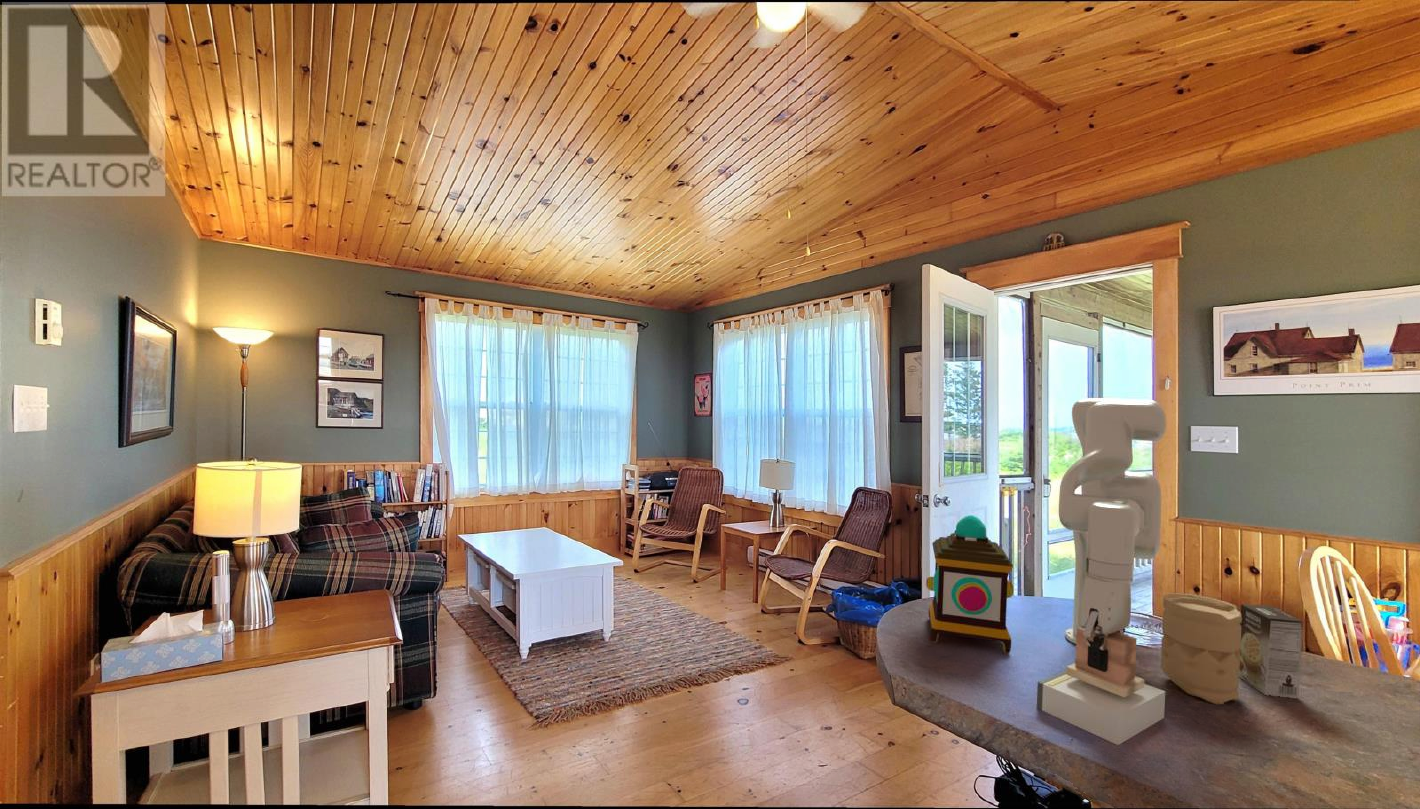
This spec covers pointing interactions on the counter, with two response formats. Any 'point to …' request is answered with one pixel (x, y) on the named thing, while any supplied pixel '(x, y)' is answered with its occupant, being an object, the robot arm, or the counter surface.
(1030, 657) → the counter surface
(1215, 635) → the container
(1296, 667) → the coffee box
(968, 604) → the decorative lantern
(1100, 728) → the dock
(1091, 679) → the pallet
